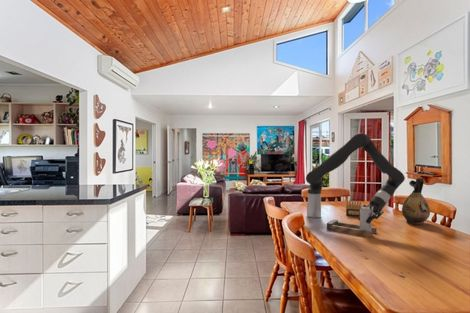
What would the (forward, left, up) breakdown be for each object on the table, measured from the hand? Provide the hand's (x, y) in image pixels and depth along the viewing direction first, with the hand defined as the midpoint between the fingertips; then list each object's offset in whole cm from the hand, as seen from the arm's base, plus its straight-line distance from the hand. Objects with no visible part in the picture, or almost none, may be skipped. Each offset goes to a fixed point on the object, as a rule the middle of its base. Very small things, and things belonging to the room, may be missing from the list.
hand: (363, 221), depth 151 cm
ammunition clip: (-17, +43, -8) cm, 47 cm away
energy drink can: (+1, +1, -7) cm, 8 cm away
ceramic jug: (+21, +48, -8) cm, 53 cm away
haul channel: (-7, +1, -7) cm, 10 cm away
